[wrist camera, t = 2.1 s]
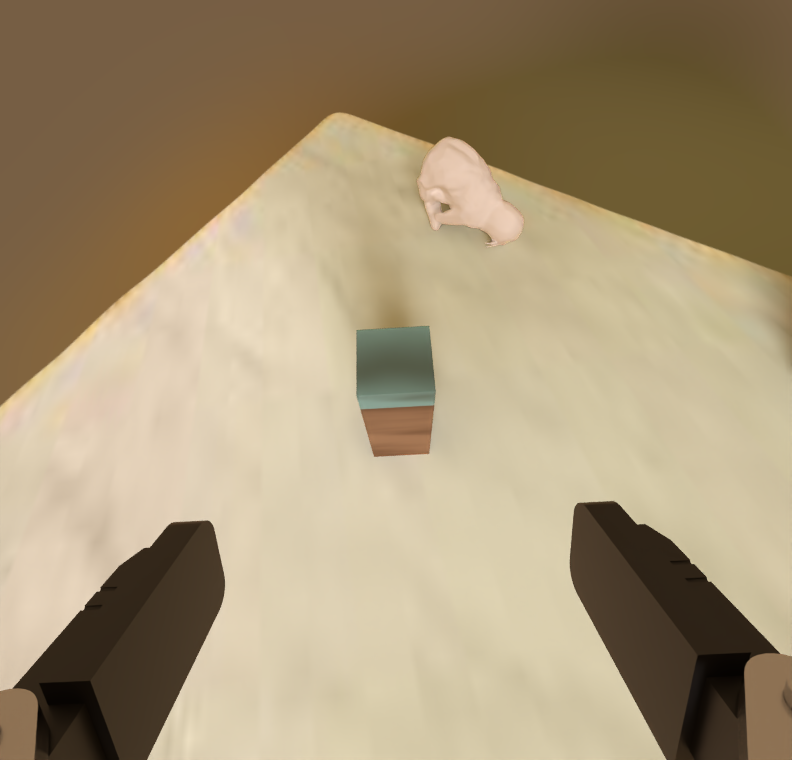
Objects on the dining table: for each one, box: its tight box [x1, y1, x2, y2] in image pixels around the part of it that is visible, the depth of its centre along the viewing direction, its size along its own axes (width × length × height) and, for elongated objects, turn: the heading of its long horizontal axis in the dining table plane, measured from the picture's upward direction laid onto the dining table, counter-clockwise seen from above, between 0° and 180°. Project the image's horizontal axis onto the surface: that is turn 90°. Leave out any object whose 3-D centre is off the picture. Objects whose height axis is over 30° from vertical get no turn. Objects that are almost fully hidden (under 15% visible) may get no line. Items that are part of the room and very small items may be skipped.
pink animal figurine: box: [417, 137, 524, 247], centre depth 43 cm, size 6×8×12 cm
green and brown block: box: [357, 326, 436, 457], centre depth 30 cm, size 5×5×12 cm
